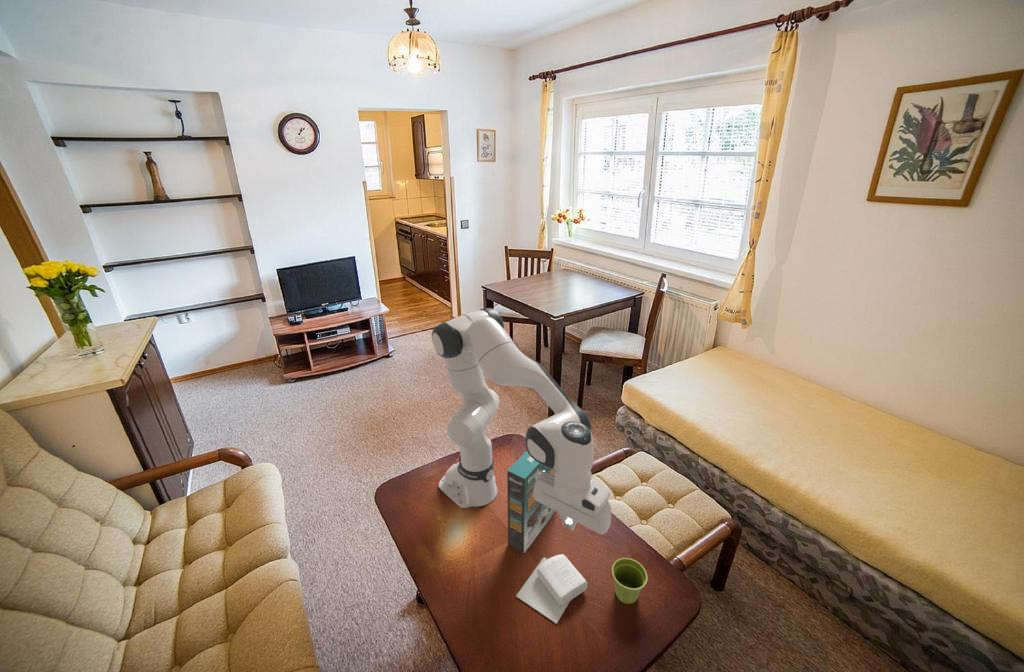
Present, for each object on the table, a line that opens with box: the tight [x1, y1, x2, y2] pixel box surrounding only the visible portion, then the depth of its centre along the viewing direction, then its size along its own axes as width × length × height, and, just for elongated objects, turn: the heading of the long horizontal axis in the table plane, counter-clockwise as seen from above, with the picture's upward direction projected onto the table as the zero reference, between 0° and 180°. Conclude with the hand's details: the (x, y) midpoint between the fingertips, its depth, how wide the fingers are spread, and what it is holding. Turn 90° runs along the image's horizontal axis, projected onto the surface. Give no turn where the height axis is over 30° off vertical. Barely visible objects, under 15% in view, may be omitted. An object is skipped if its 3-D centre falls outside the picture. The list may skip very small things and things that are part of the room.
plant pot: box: [611, 557, 648, 605], centre depth 116 cm, size 9×9×9 cm
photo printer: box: [537, 553, 589, 606], centre depth 120 cm, size 10×4×12 cm
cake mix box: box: [506, 450, 556, 555], centre depth 133 cm, size 22×6×30 cm, turn 146°
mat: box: [515, 557, 571, 625], centre depth 119 cm, size 13×15×1 cm
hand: (568, 526), depth 106 cm, fingers closed
